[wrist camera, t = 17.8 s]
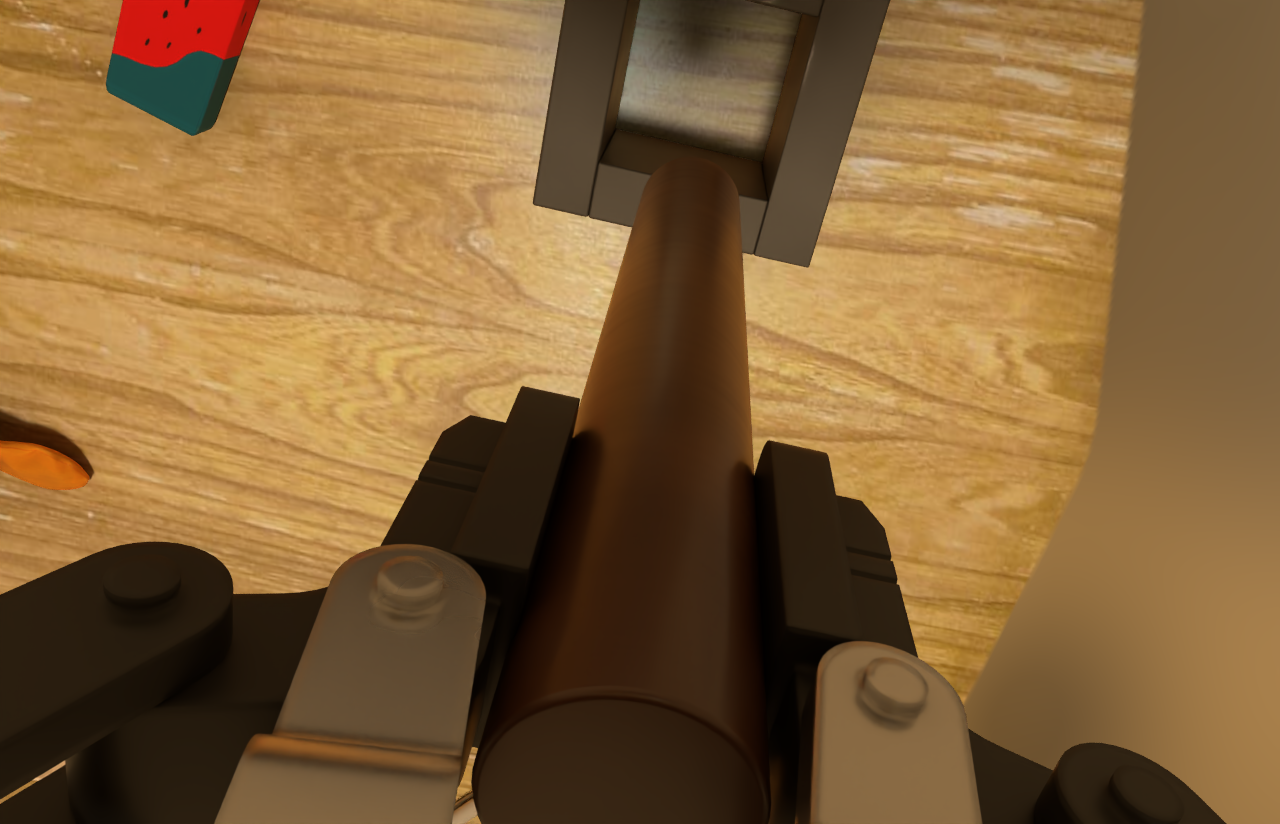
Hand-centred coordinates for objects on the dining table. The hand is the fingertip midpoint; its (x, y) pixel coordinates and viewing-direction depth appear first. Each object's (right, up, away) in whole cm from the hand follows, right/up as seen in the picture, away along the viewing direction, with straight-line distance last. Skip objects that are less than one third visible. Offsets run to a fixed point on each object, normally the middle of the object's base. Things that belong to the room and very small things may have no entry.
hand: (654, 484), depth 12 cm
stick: (+1, +6, +12) cm, 13 cm away
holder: (+2, +14, +25) cm, 29 cm away
